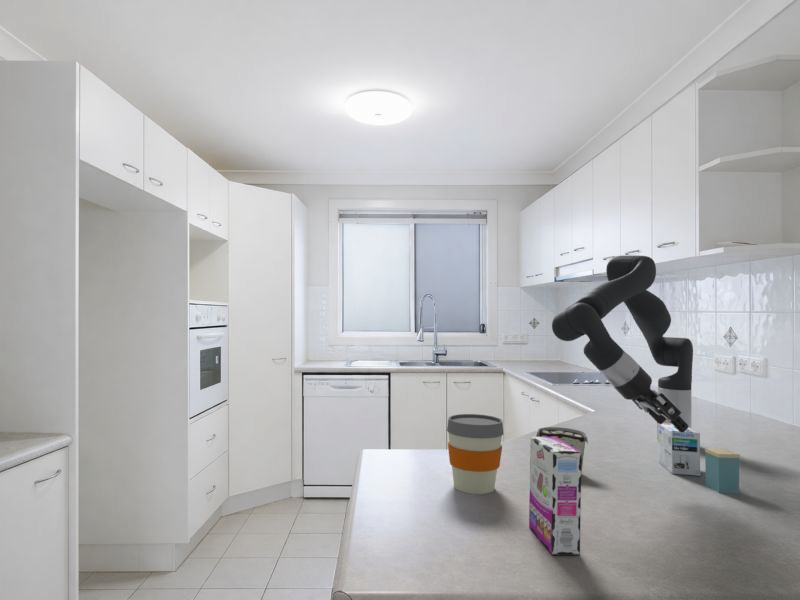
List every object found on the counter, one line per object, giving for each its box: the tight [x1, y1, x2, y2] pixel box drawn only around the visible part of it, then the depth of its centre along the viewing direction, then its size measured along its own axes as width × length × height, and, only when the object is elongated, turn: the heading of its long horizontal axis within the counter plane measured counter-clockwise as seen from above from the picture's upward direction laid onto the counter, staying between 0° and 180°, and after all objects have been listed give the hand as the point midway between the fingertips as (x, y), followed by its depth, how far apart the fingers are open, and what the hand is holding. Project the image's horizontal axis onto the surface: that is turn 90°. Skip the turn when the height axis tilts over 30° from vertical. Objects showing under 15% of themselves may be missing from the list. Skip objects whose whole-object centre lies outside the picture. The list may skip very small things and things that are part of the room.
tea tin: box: [704, 447, 741, 494], centre depth 111 cm, size 5×5×9 cm
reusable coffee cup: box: [446, 413, 504, 495], centre depth 109 cm, size 13×13×15 cm
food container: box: [535, 426, 589, 474], centre depth 124 cm, size 12×6×10 cm, turn 65°
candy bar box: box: [528, 436, 582, 556], centre depth 83 cm, size 11×5×16 cm, turn 5°
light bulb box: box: [658, 423, 701, 477], centre depth 126 cm, size 11×7×11 cm, turn 168°
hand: (673, 425), depth 111 cm, fingers open, 8 cm apart
